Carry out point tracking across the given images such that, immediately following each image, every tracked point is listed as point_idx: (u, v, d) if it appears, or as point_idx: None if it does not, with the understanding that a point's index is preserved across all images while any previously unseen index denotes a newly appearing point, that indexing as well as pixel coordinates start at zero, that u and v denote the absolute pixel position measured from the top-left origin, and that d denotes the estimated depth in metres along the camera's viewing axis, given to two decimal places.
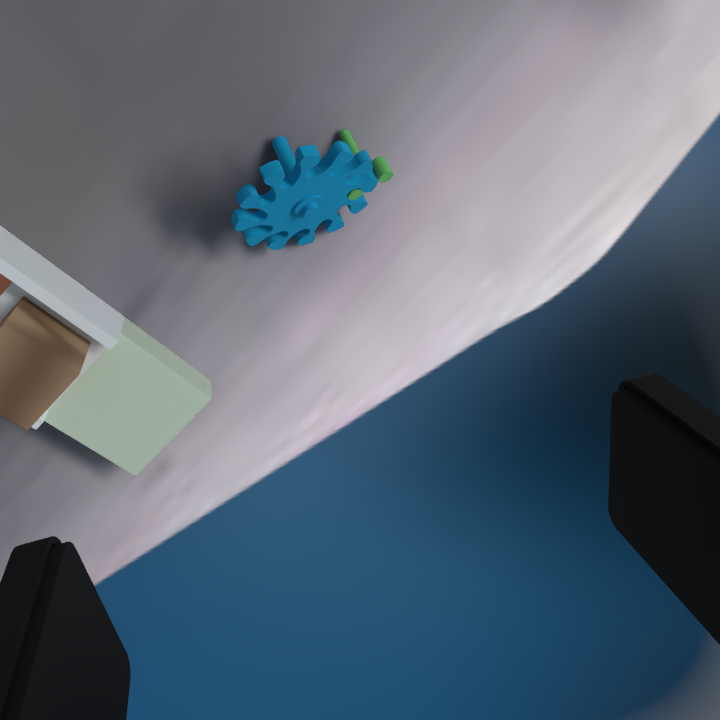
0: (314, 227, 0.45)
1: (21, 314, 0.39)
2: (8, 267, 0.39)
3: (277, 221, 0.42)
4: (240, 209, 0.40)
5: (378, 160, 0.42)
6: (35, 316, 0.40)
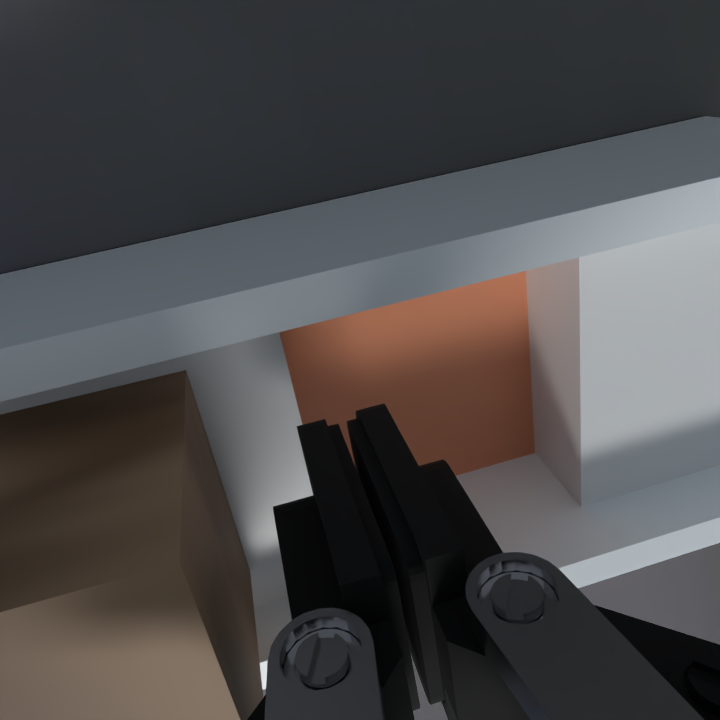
0: None
1: None
2: None
3: None
4: None
5: None
6: None
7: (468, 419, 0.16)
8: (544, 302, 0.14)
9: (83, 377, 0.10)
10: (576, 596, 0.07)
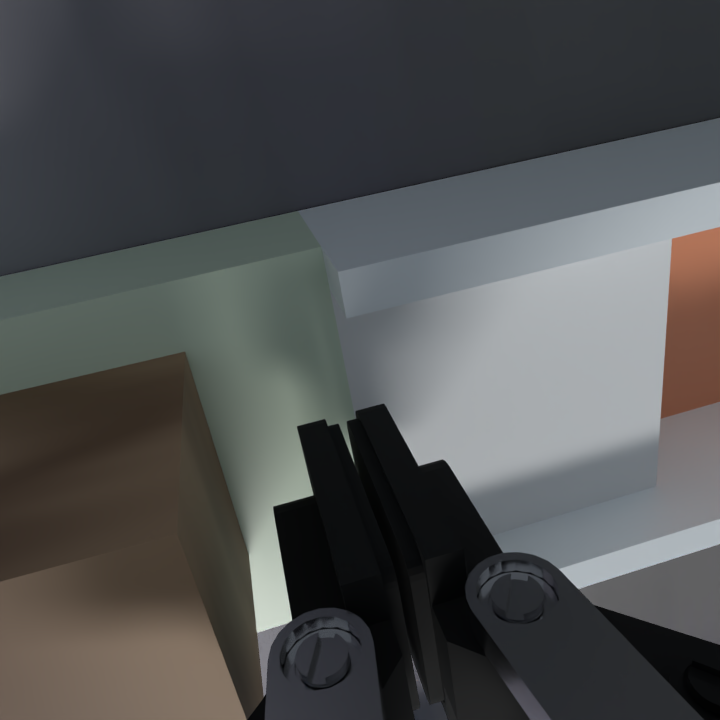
0: None
1: None
2: None
3: None
4: None
5: None
6: None
7: None
8: None
9: (572, 259, 0.11)
10: (576, 596, 0.07)
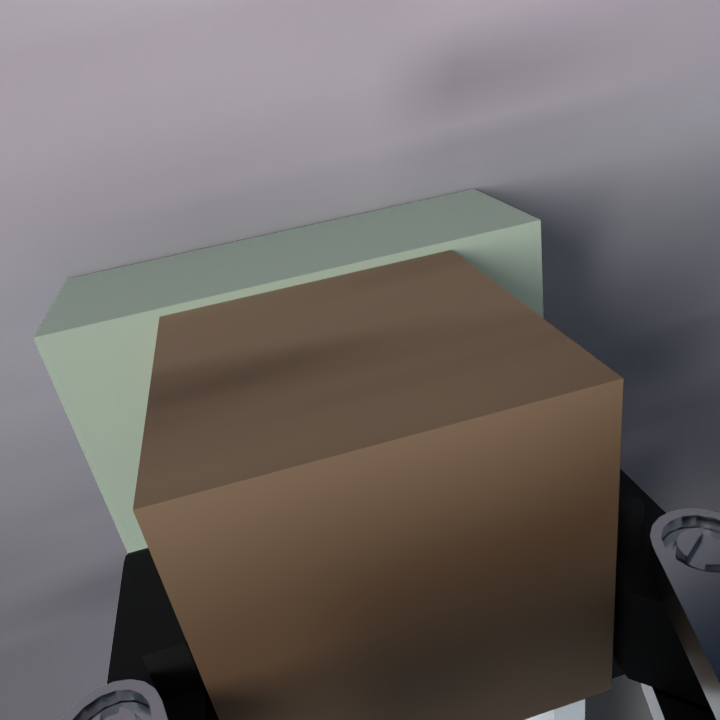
0: None
1: None
2: None
3: None
4: None
5: None
6: None
7: None
8: None
9: None
10: None
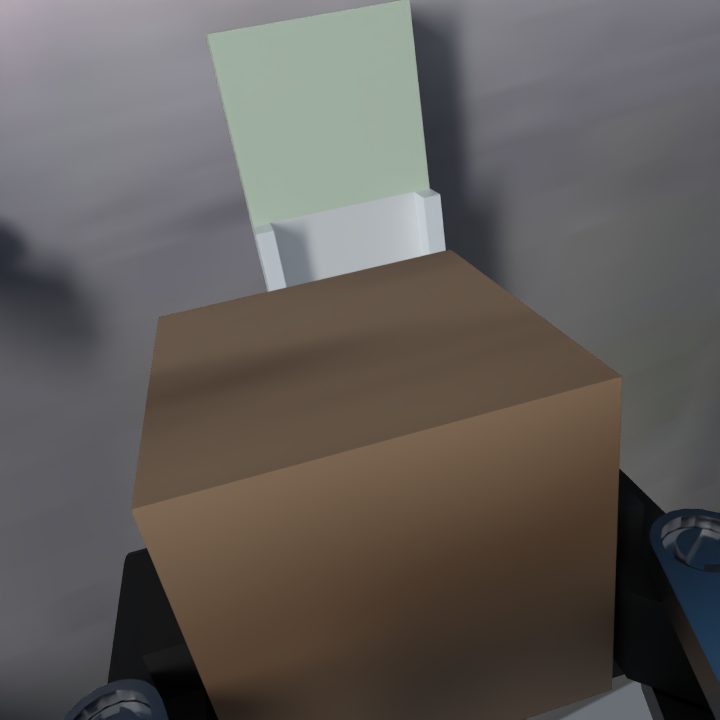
0: None
1: None
2: None
3: None
4: None
5: None
6: None
7: None
8: None
9: None
10: None
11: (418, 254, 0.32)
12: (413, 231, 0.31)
